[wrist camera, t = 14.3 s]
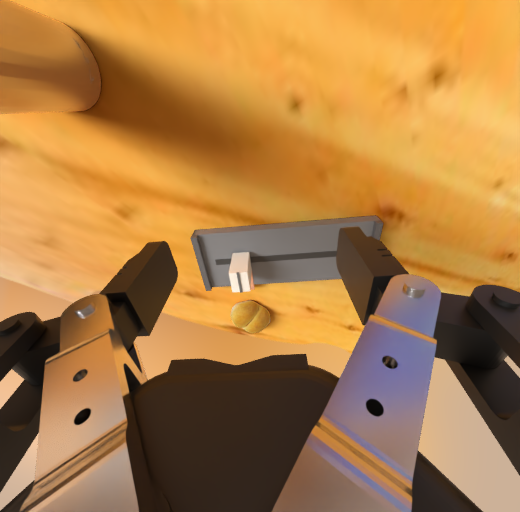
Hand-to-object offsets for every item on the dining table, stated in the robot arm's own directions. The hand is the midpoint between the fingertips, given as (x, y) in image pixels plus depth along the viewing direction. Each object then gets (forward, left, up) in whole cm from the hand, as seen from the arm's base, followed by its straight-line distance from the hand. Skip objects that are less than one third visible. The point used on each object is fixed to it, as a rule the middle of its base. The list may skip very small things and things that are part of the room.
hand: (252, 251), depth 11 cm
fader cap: (-5, -18, -26) cm, 32 cm away
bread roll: (-5, -34, -28) cm, 45 cm away
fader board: (+3, -18, -28) cm, 34 cm away
